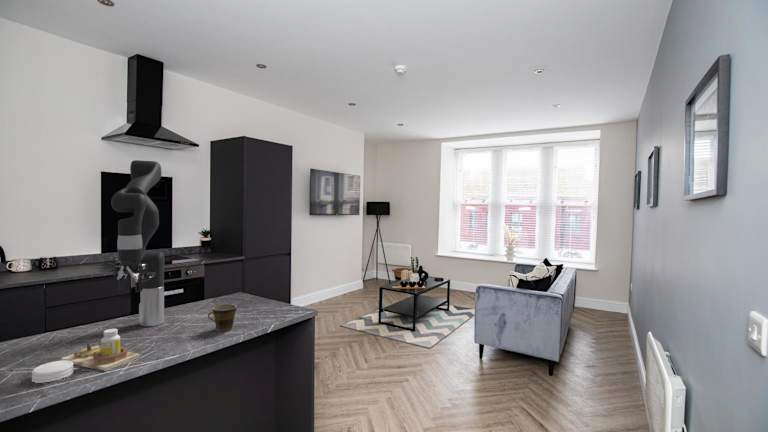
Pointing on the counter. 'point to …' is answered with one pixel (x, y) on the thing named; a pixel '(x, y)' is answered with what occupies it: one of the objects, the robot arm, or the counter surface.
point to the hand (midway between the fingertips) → (130, 290)
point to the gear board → (100, 358)
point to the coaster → (52, 371)
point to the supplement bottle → (110, 343)
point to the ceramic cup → (224, 316)
